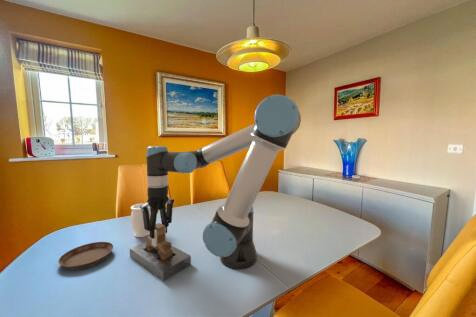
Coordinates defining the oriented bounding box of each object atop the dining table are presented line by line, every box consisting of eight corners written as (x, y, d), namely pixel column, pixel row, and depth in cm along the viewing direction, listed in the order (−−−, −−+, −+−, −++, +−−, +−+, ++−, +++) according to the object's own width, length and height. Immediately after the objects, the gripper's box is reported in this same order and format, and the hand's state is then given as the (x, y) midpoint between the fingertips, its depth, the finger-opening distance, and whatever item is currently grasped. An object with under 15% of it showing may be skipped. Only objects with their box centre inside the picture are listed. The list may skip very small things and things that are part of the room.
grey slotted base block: (190, 264, 78) (190, 255, 78) (163, 281, 68) (163, 271, 68) (156, 245, 92) (156, 237, 92) (129, 256, 83) (129, 248, 82)
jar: (145, 239, 97) (144, 209, 96) (126, 237, 99) (125, 208, 98) (158, 230, 108) (157, 203, 106) (141, 228, 110) (140, 201, 108)
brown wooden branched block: (172, 260, 78) (172, 227, 77) (163, 264, 75) (162, 231, 74) (155, 249, 86) (154, 220, 84) (146, 253, 82) (145, 223, 81)
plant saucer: (45, 274, 72) (44, 266, 71) (80, 248, 89) (80, 242, 89) (96, 272, 73) (96, 264, 73) (121, 247, 90) (121, 240, 90)
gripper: (170, 181, 87) (170, 233, 88) (132, 187, 74) (133, 248, 76) (180, 183, 82) (181, 238, 84) (142, 191, 69) (144, 255, 71)
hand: (158, 243), depth 80 cm, fingers closed on brown wooden branched block, 3 cm apart
